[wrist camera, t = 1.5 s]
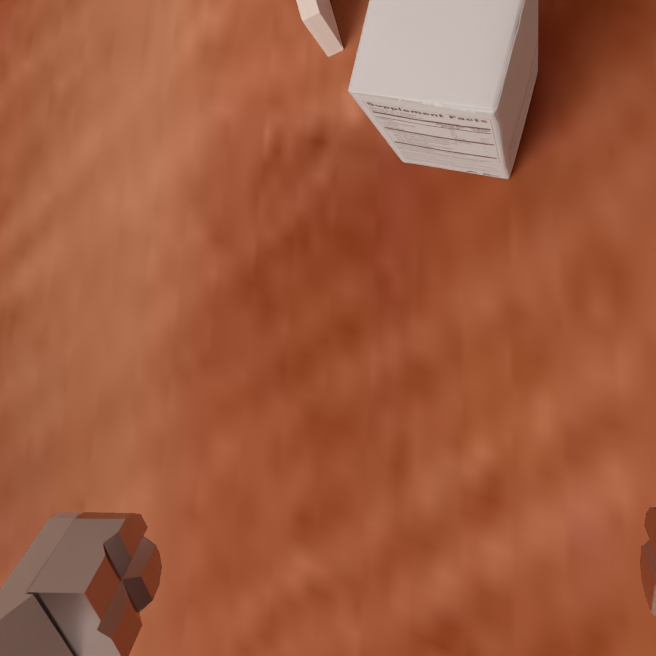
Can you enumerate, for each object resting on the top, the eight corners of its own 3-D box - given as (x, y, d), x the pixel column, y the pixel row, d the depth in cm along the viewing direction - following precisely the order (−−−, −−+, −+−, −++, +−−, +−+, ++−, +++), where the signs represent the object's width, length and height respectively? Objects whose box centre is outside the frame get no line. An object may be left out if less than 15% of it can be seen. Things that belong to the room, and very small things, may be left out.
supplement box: (427, 55, 39) (382, -66, 28) (541, 69, 37) (545, -58, 25) (399, 164, 40) (342, 91, 28) (509, 184, 38) (498, 113, 26)
